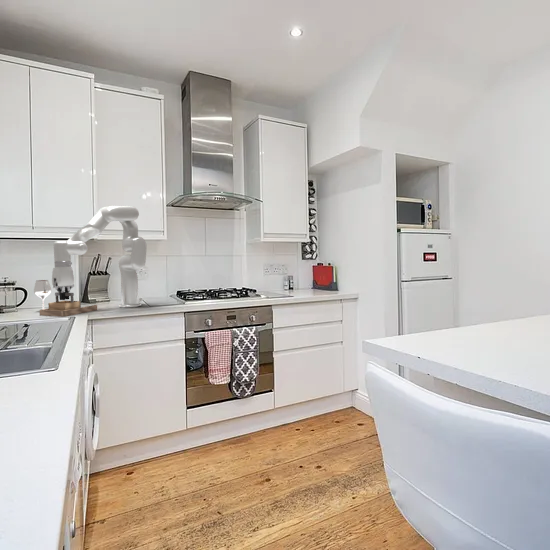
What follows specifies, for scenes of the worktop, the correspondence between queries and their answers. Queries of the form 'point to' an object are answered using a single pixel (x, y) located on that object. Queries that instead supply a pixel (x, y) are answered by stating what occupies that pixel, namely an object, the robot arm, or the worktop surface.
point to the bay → (67, 311)
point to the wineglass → (42, 289)
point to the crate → (64, 303)
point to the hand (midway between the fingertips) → (64, 299)
